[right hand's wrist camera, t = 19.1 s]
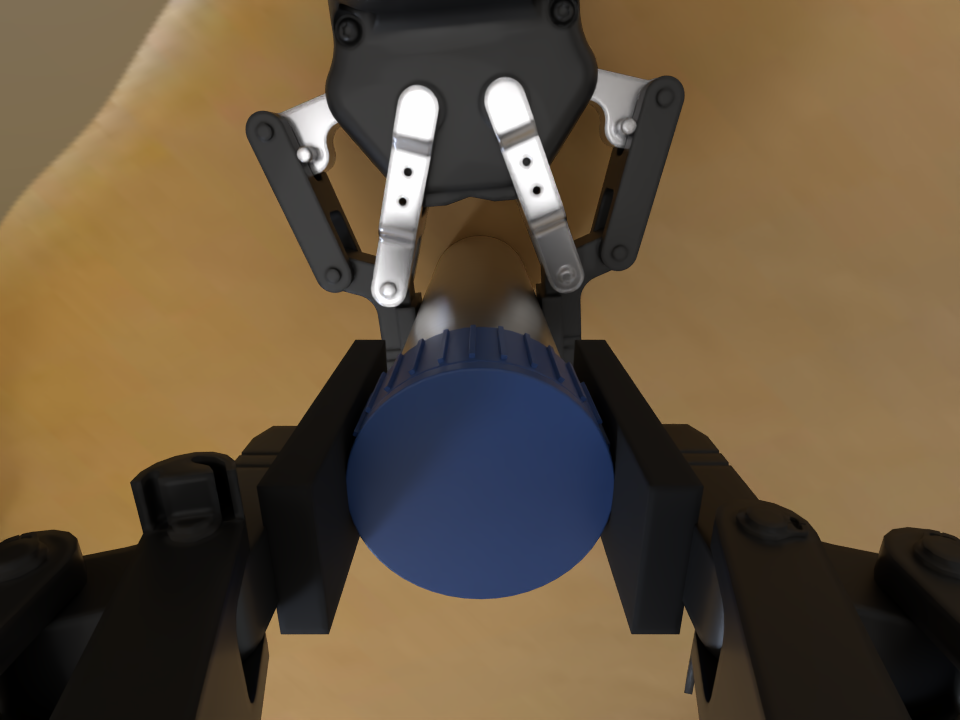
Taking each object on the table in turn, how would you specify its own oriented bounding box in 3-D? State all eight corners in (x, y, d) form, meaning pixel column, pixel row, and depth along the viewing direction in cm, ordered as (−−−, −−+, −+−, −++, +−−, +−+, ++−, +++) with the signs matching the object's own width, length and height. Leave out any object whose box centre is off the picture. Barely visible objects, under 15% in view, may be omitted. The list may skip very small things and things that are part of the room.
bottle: (444, 225, 25) (387, 338, 10) (537, 248, 25) (628, 394, 10) (425, 315, 27) (347, 542, 11) (513, 336, 27) (558, 583, 11)
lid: (623, 484, 12) (653, 554, 10) (424, 552, 13) (413, 632, 11) (547, 285, 11) (564, 318, 9) (325, 375, 12) (289, 427, 9)
